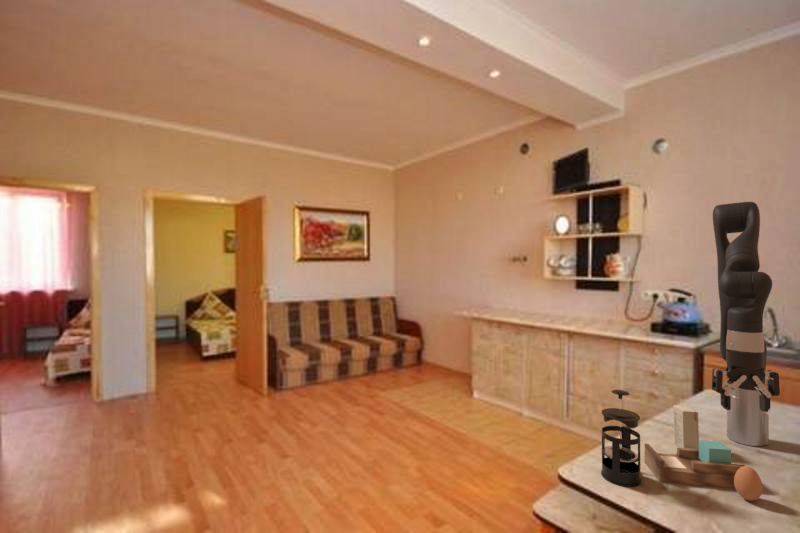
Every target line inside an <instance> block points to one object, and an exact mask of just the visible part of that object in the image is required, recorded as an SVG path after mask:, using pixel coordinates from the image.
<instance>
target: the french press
mask: <svg viewBox="0 0 800 533" xmlns="http://www.w3.org/2000/svg"><path fill="white" fill-rule="evenodd" d="M610 391H611V393H612V394H614V395H618V396H617V397H618V399H619V407H618V408H616V407H613V408H612V407H609V408H603V409H602V410H601V414H602V416H603V421H604V422H605V423H606V422H609V421H611V420H612V421H618V422H619V425H606V426H603V427H601V471H600V475H601V476H602V477H603V479H604V480H606V481H607V482H609V483H611V484H614V485H616V486H619V487H625V488H626V487H627V488H634V487H635V488H636V487H639V486H640V485H641V484H642V477H641V434H640V433H639V432H638V431H636V430H635V428H637V427H639V421H640V419H641V416H640V415H639V414H638V413H636V412H634V411H631V410H628V409H624V408H622V399H623V396H629V395H630V393H629V391H626V390H623V389H612V390H610ZM622 424H623V425H622ZM610 431H616V432H619V437H614V436H611V435H609V434H607V433H605V432H610ZM631 435H632V436H634V437H635V439H634V438H633V439H632V437H631ZM605 440H607V441H609V442H611V446H606V447H605V443H606V442H605ZM632 445H637V452H635V450H632V449H631V448H632Z"/></svg>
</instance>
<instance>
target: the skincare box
mask: <svg viewBox="0 0 800 533" xmlns="http://www.w3.org/2000/svg"><path fill="white" fill-rule="evenodd" d="M699 431H700V430H699V412H698V411H697V410H696V409H694V408H693V407H691V406H689V405H680V404H679V405H678V404H673V436H674V437H673V438H674V445H675V446H677V448H688V449H699V440H700V438H699V434H700V433H699Z"/></svg>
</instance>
